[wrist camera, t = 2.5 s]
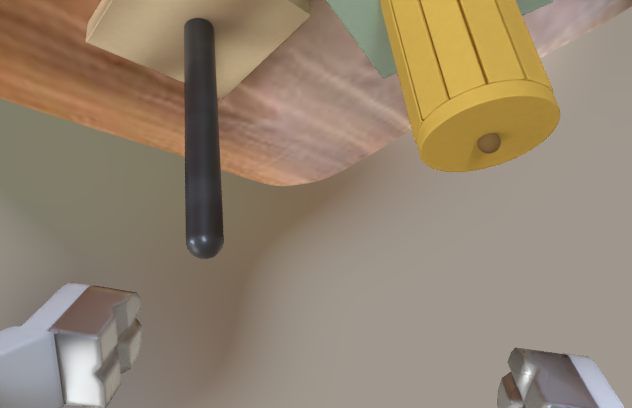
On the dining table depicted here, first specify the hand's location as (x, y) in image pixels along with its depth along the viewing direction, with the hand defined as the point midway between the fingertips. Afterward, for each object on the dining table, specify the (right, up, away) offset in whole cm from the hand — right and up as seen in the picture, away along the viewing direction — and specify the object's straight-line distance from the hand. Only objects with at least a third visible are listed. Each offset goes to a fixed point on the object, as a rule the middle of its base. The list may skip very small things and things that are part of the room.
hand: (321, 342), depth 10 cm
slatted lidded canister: (+7, +15, +17) cm, 23 cm away
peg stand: (-9, +18, +26) cm, 33 cm away
